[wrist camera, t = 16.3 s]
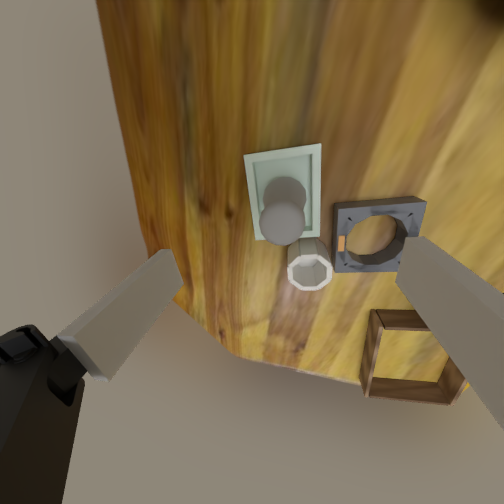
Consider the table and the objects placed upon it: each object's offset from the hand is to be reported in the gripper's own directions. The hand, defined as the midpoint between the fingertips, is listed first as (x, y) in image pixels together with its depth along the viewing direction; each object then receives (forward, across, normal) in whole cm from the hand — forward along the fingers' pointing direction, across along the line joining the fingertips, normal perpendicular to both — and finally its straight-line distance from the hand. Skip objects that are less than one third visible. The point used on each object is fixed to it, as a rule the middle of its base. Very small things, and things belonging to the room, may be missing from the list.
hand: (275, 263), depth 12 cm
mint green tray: (+20, 0, 0) cm, 20 cm away
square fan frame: (+20, +12, -8) cm, 25 cm away
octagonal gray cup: (+20, +3, -10) cm, 23 cm away
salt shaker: (+20, 0, -1) cm, 20 cm away
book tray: (+20, +22, -33) cm, 44 cm away
